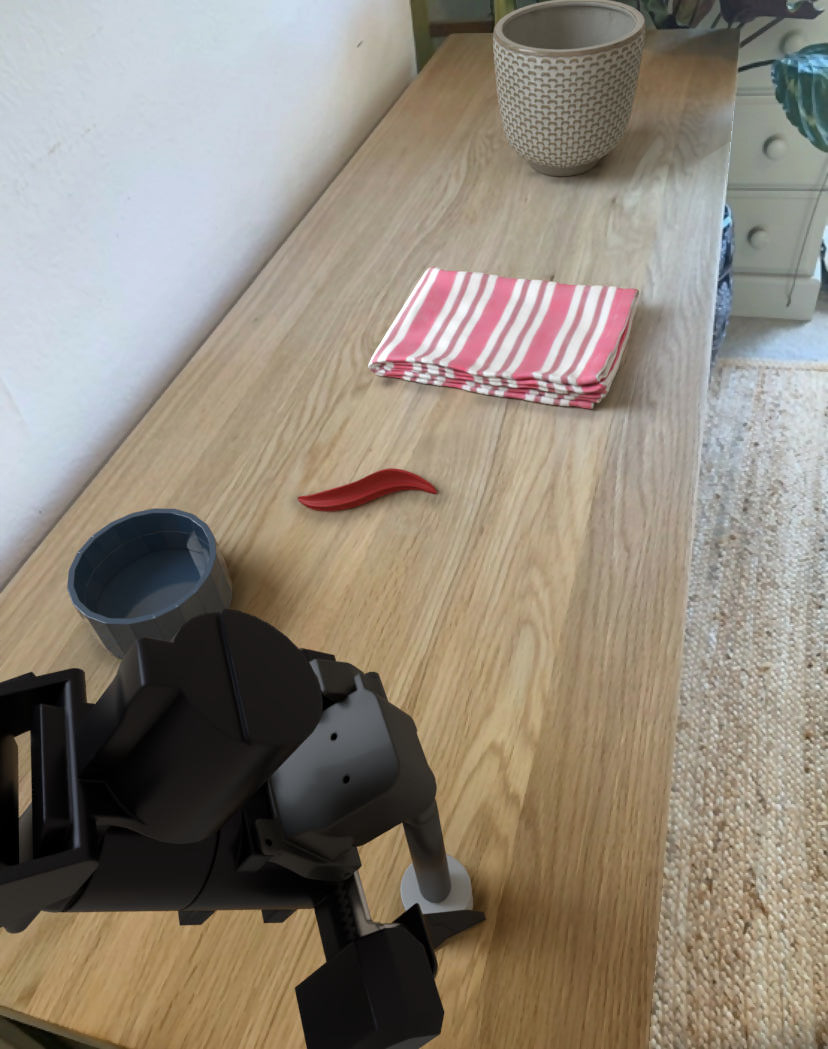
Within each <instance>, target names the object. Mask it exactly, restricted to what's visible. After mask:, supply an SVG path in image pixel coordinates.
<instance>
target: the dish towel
mask: <svg viewBox="0 0 828 1049" xmlns="http://www.w3.org/2000/svg"><path fill="white" fill-rule="evenodd" d="M639 296H640V290H639V289H638V288H622V287H619V286H614V285H610V286H609V285H601V284H598V285H597V284H595V285H589V284H588V285H587V284H567V283H560V282H557V281H553V280H551V281H550V280H549V281H548V280H543V279H534V278H532V279H528V278H512V277H506V276H500V275H497V274H492V273H484V272H479V271H465V270H464V271H463V270H446V269H442V268H441V267H439V266H430V267H429V268H428V269H426V270H425V272H424V273H423V275H422V276H421V278H420V279H419V281H418V282H417V283H416V285H415V287H414V289H413V290H412V292H410V295H409V297H408V298H407V299H406V301H405V303H404V305H403V306H402V308H401V309H400V311H399V312H398V314H397V315H396V317H395V319H394V321H393V322H392V324H391V325H390V327H389V328H388V330H386V333H385V334H384V337H383V338H382V340H381V342H380V343H379V345H378V346H377V348H376V349H375V351H374V353H373V354H372V357H371V358H370V361H369V362H368V365H367V367H368V369H369V370H370V371H371V372H372V373H373V374H374V375H376V376H379V377H389V378H397V379H401V380H405V381H409V382H415V383H419V384H424V385H434V386H438V387H449V388H456V389H459V390H463V391H466V392H470V393H471V392H472V393H478V394H480V395H486V396H494V397H499V398H513V399H518V400H524V401H527V402H532V403H540V404H545V405H551V406H560V407H578V408H582V409H586V410H588V409H589V410H593V409H594V408H595V404H600V403H601V402H602V400H603V399H604V398H606V397H607V395H608V393H609V392H610V389H611V386H612V384H613V381H614V378H615V377H616V375H617V372H618V370H619V367H620V365H621V361H622V357H623V354H624V351H625V348H626V345H627V343H628V340H629V338H630V337H629V336H630V333H631V330H632V325H633V321H634V317H635V314H636V308H637V303H638V299H639Z"/></svg>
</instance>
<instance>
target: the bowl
mask: <svg viewBox="0 0 828 1049" xmlns="http://www.w3.org/2000/svg"><path fill="white" fill-rule="evenodd" d="M67 574H68V575H67V586H66V588H67V589H66V590H67V593H68V596H69V598H70V601H71V603H72V605H73V606H74V608H75V610H76V611H77V613H78V614H79V615H80V617H81V619H82V620H83V622H84V624H85V625H86V627H87V628H88V630H89V631H90V633H91V634H92V636H93V638H94V639H95V640H96V641H97V642H98V643H99V645H100V646H101V647H102V648H103V649H104V651H106V652H107V653H109V654H111V655H112V656H113V657H116V658H118V659H120V660H122V659H123V658H124V656H125V655H126V653H127V652H128V651H129V649H130V648H131V647H132V645H133V644H134V643H135V641H136V640H137V639H140V638H143V637H149V638H154V639H159V640H164V641H171V639H172V638H173V637H174V636H175V634H176V633H177V632H178V630H179V629H180V628H181V627H182V626H183V625H184V624H185V623H186V622H188V621H189V620H190V619H191V618H193V617H196V616H199V615H201V614H204V613H213V612H222V610H223V609H231V605H232V600H233V592H234V589H233V588H234V587H233V581H232V578H231V573H230V570H229V567H228V565H227V563H226V561H225V559H224V556H223V554H222V551H221V549H220V546H219V544H218V542H217V539H216V537H215V536H214V534H213V532H212V530H211V528H210V526H209V525H208V524H207V523H206V521H203V520H202V519H201V518H199V517H198V516H197V515H195V514H193V513H192V512H189V511H184V510H182V509H178V508H163V507H162V508H161V507H160V508H158V507H157V508H155V507H154V508H148V509H144V510H140V511H135V512H132V513H129V514H127V515H124V516H121V517H120V518H118V519H115V520H113V521H110V522H109V523H108V524H106V525H105V526H104V527H102V528H100V529H99V530H97V531H96V532H95V533H94V534H92V535H91V536H90V537H89V538H88V539H87V540H86V541H85V543H84V544H83V545H82V546H81V548H80V549H79V550H77V553H76V554H75V556H74V558H73V560H72V563H71V564H70V567H69V568H68V573H67Z"/></svg>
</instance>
